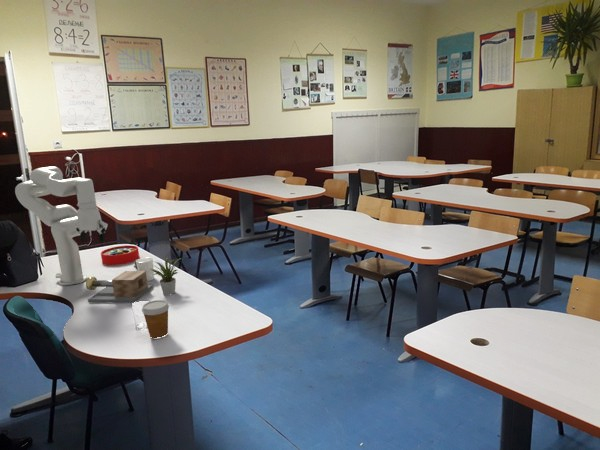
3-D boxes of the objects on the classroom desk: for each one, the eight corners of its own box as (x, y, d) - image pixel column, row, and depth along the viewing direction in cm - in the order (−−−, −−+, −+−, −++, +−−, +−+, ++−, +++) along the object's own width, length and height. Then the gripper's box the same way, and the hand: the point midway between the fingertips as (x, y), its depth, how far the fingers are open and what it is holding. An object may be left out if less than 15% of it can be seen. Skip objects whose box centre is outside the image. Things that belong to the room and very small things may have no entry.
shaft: (86, 292, 221) (84, 279, 220) (94, 287, 227) (92, 275, 225) (123, 292, 218) (121, 279, 217) (130, 287, 224) (128, 275, 222)
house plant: (176, 284, 232) (172, 251, 228) (192, 290, 222) (188, 256, 218) (149, 293, 222) (144, 258, 218) (164, 300, 212) (160, 264, 209)
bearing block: (114, 296, 216) (111, 279, 214) (127, 287, 227) (125, 271, 226) (135, 296, 214) (133, 279, 212) (147, 287, 226) (145, 270, 224)
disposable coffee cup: (140, 338, 177) (135, 307, 174) (159, 327, 185) (155, 298, 182) (158, 343, 172) (154, 311, 169) (178, 332, 180) (174, 302, 177)
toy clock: (144, 249, 276) (109, 257, 263) (145, 259, 277) (110, 268, 264) (129, 243, 290) (95, 251, 277) (130, 253, 292) (96, 261, 279)
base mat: (88, 302, 215) (87, 299, 215) (109, 287, 232) (109, 284, 232) (134, 302, 212) (134, 299, 211) (153, 287, 229) (152, 284, 228)
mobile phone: (147, 263, 252) (137, 257, 263) (142, 264, 250) (131, 258, 261) (149, 272, 253) (138, 265, 264) (143, 274, 251) (132, 267, 263)
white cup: (158, 278, 242) (155, 259, 240) (143, 283, 236) (141, 263, 234) (149, 275, 247) (147, 256, 245) (135, 279, 242) (132, 260, 239)
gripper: (66, 207, 224) (72, 243, 228) (98, 207, 220) (104, 243, 224) (77, 204, 231) (82, 239, 235) (108, 204, 227) (114, 239, 231)
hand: (93, 241), depth 229 cm, fingers open, 9 cm apart
